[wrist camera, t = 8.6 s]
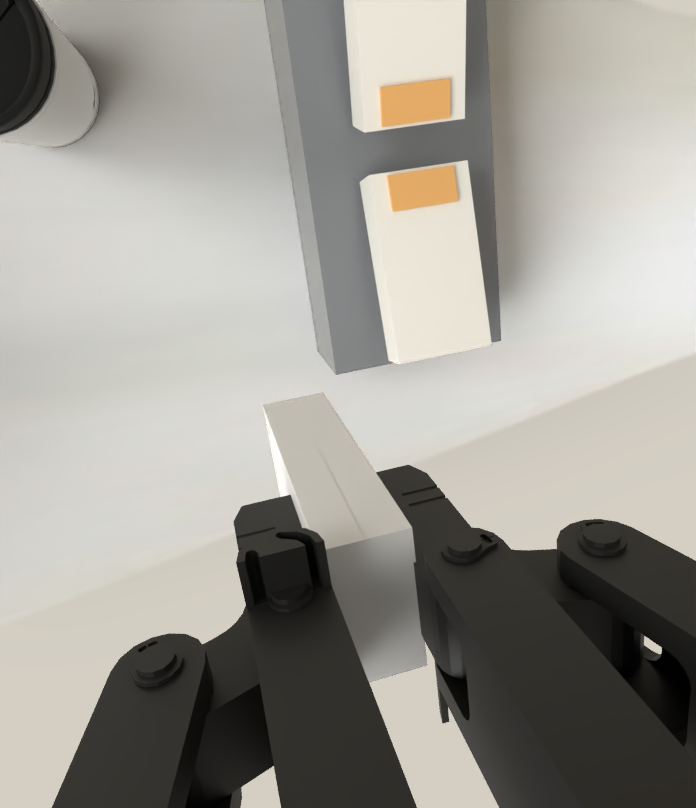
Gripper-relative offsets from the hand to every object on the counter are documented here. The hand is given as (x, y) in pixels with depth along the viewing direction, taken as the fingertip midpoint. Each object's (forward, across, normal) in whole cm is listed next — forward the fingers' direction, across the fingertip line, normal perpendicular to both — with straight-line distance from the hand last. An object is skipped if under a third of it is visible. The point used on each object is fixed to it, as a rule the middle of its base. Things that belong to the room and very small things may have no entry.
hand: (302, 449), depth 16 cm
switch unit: (+32, +12, +6) cm, 35 cm away
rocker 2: (+25, +12, -1) cm, 28 cm away
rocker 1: (+25, +12, +13) cm, 30 cm away
